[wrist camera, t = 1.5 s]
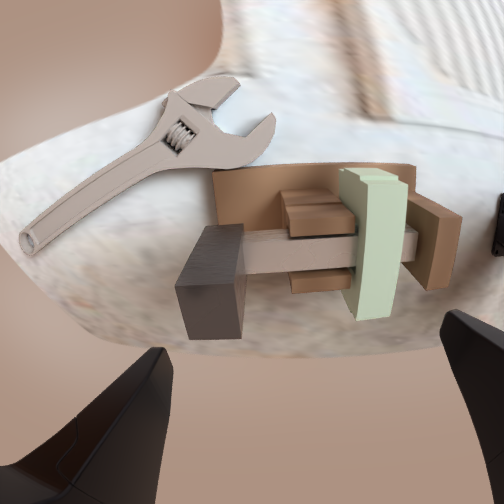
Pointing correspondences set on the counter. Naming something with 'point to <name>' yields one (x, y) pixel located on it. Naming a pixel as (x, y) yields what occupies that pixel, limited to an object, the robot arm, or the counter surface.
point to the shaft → (253, 270)
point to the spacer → (374, 238)
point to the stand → (331, 216)
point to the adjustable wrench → (159, 156)
